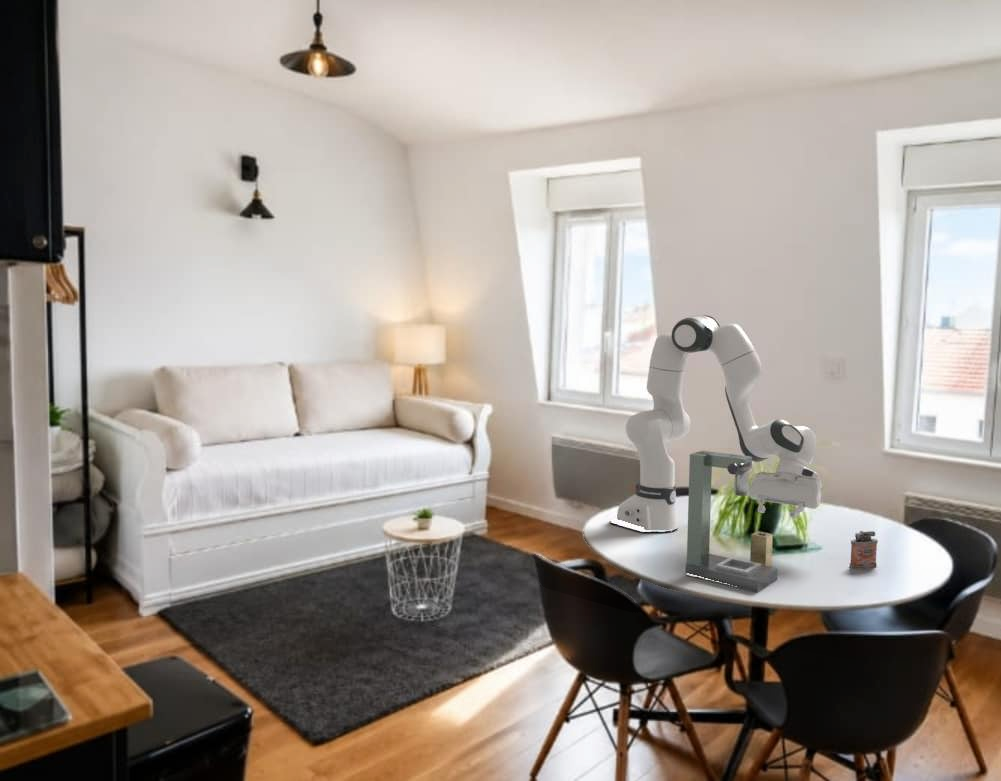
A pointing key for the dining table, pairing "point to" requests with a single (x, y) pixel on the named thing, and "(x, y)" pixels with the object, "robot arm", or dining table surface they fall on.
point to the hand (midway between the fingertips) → (776, 514)
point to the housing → (761, 548)
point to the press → (699, 524)
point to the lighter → (863, 550)
